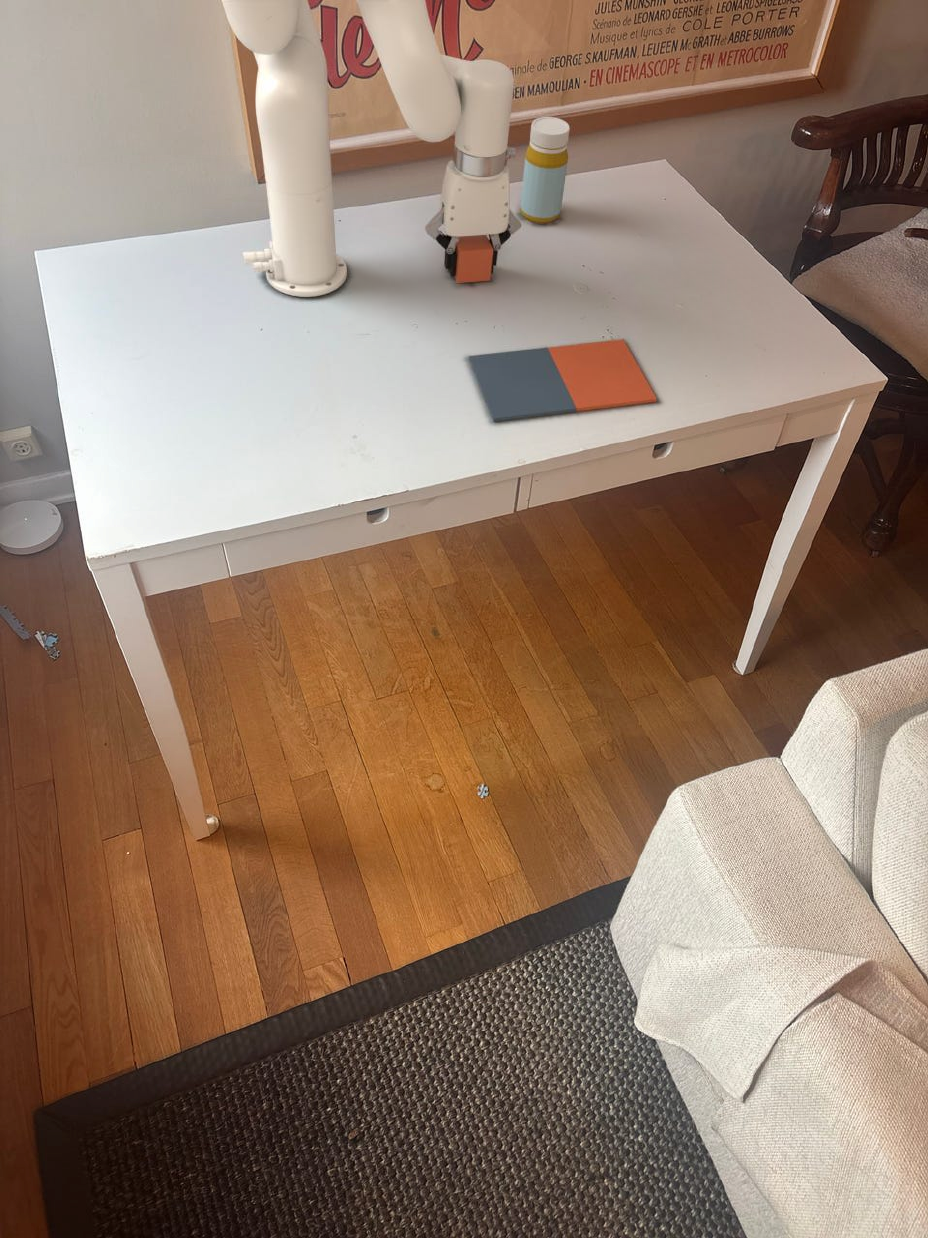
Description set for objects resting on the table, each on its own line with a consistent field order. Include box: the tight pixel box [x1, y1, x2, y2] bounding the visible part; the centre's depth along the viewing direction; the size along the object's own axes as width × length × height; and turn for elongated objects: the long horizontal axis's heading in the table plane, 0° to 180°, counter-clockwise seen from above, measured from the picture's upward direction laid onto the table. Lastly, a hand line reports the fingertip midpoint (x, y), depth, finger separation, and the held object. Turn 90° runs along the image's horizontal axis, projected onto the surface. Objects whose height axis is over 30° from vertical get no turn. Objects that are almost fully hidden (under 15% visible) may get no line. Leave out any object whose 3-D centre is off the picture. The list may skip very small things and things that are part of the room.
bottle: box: [519, 116, 571, 224], centre depth 160 cm, size 7×7×15 cm
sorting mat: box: [468, 339, 658, 423], centre depth 138 cm, size 24×14×1 cm, turn 104°
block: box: [454, 235, 493, 284], centre depth 151 cm, size 5×5×5 cm
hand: (469, 269), depth 153 cm, fingers closed on block, 5 cm apart
